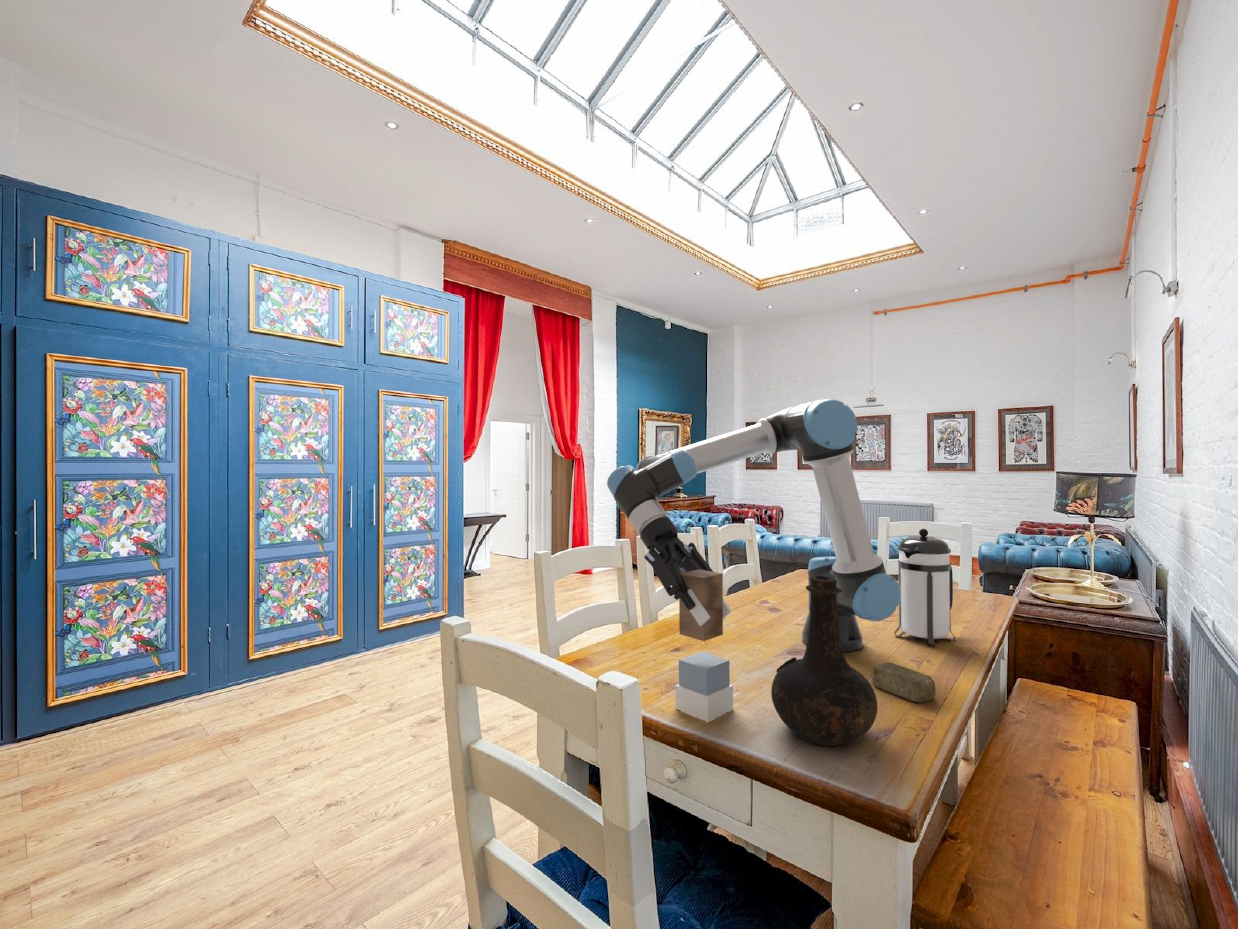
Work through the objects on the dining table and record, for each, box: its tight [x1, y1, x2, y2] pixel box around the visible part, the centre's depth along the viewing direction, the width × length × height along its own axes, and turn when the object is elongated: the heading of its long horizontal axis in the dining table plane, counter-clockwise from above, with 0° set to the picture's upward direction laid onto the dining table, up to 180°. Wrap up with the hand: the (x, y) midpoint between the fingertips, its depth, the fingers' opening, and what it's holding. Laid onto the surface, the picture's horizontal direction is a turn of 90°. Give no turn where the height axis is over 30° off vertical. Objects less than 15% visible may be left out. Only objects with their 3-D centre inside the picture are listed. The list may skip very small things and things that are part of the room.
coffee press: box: [893, 528, 956, 647], centre depth 155 cm, size 17×16×30 cm
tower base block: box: [674, 683, 734, 723], centre depth 111 cm, size 8×8×5 cm
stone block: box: [871, 662, 936, 704], centre depth 118 cm, size 6×12×5 cm, turn 29°
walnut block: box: [678, 570, 724, 642], centre depth 111 cm, size 6×6×12 cm
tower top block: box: [678, 651, 731, 696], centre depth 111 cm, size 7×7×5 cm
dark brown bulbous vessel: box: [771, 576, 878, 747], centre depth 100 cm, size 18×18×28 cm
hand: (716, 618), depth 108 cm, fingers closed on walnut block, 6 cm apart
